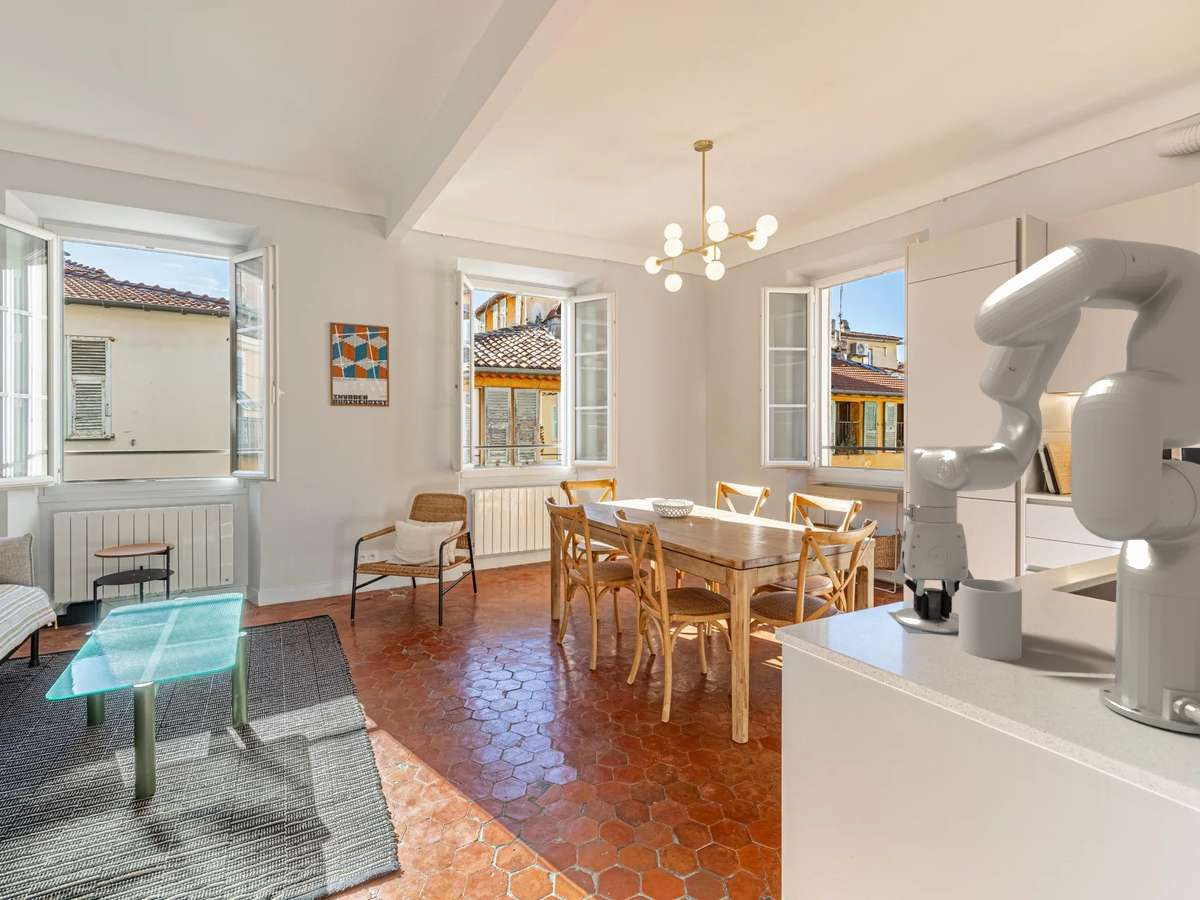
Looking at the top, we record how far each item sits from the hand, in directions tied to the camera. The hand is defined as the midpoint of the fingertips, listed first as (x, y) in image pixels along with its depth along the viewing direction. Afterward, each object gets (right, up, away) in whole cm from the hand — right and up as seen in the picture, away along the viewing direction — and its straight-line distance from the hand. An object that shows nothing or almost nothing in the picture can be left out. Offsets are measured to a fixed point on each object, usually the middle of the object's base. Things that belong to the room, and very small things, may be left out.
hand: (932, 615), depth 112 cm
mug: (+3, -3, -13) cm, 13 cm away
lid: (0, -1, 0) cm, 1 cm away
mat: (0, -2, 0) cm, 2 cm away
